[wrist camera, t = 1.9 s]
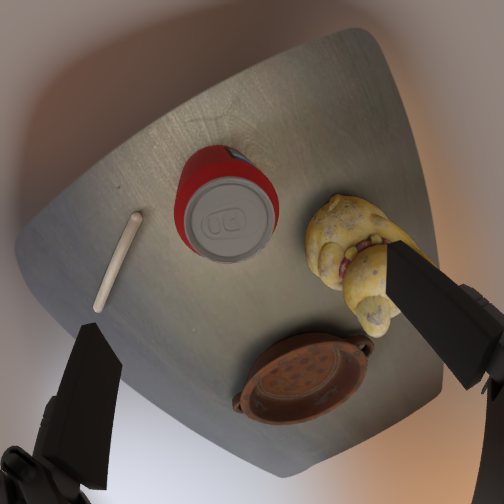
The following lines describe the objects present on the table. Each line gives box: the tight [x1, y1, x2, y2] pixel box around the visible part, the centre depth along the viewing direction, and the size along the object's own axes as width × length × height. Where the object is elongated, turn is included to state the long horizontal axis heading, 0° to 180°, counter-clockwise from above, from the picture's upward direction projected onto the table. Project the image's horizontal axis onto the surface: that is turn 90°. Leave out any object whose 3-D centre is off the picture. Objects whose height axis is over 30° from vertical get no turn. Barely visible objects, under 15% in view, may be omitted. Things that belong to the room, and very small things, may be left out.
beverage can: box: [174, 145, 279, 264], centre depth 23 cm, size 7×7×12 cm
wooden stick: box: [93, 212, 142, 313], centre depth 30 cm, size 1×13×1 cm, turn 148°
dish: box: [232, 332, 374, 425], centre depth 39 cm, size 18×22×5 cm
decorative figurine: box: [305, 194, 437, 337], centre depth 26 cm, size 10×8×15 cm
